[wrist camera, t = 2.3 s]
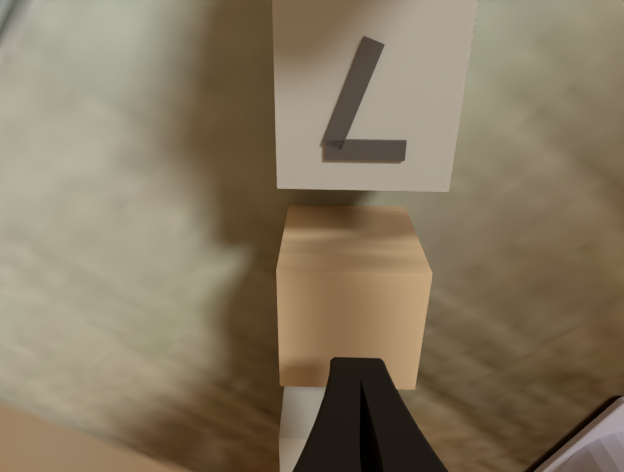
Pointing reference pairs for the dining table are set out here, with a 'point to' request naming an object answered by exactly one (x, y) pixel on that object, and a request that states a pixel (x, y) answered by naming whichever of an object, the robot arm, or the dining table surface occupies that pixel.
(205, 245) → the dining table surface
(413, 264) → the plain block
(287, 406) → the marked block 1
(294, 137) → the marked block 7
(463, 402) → the dining table surface
